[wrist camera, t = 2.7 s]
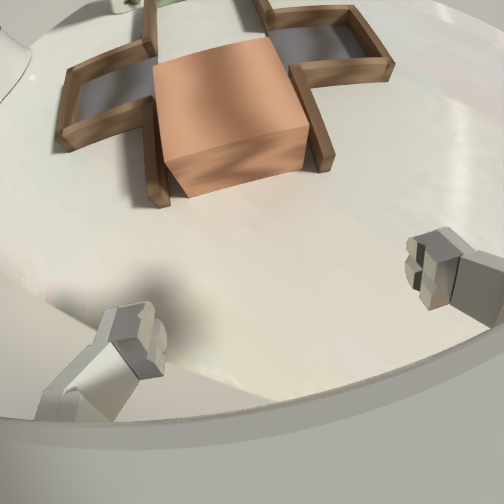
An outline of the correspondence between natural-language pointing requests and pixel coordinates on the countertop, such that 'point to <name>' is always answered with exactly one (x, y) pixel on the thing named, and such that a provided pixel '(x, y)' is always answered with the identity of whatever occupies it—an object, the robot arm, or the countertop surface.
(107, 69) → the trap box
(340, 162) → the countertop surface
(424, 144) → the countertop surface
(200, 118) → the terracotta block
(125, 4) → the beer glass
